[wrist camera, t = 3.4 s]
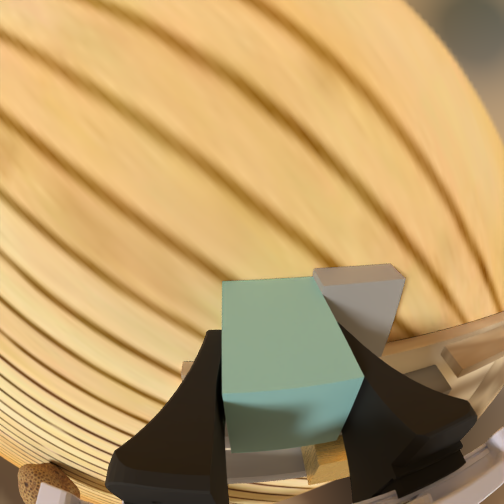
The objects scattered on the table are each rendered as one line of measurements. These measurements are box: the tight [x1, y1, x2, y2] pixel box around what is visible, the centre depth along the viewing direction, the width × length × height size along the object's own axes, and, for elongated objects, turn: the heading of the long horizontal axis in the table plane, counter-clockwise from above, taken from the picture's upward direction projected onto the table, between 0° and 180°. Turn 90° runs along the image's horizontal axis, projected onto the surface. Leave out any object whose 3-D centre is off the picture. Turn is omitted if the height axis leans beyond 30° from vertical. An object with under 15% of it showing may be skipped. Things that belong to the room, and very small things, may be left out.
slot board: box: [181, 311, 504, 484], centre depth 16 cm, size 13×27×4 cm, turn 91°
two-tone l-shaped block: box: [222, 264, 405, 453], centre depth 11 cm, size 5×8×6 cm, turn 90°
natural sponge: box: [18, 463, 80, 504], centre depth 18 cm, size 9×9×10 cm
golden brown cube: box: [301, 435, 350, 485], centre depth 15 cm, size 4×4×4 cm
